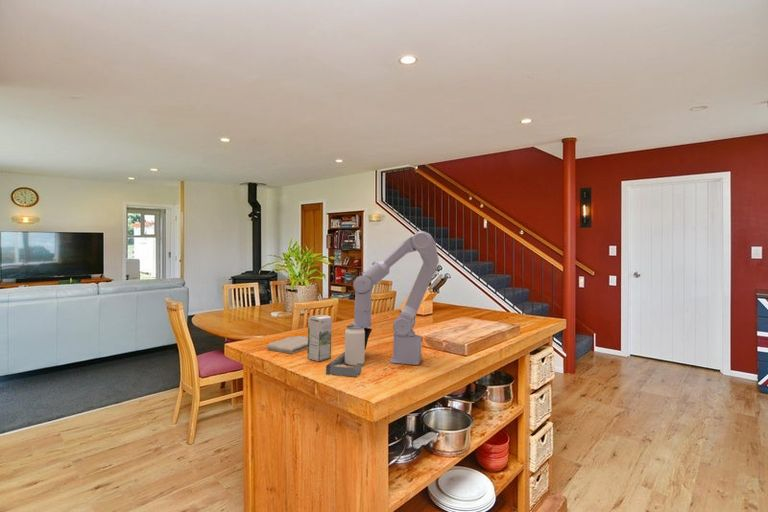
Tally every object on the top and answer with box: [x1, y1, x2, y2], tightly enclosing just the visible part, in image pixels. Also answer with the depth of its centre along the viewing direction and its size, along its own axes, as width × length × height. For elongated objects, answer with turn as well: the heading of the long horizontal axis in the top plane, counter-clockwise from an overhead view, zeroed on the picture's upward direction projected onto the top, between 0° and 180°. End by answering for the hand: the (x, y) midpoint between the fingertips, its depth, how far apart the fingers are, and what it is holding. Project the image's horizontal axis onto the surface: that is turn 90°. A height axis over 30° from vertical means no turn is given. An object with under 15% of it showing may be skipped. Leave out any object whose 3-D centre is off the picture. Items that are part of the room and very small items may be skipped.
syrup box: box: [306, 314, 333, 362], centre depth 133 cm, size 6×6×14 cm
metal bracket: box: [325, 351, 363, 378], centre depth 125 cm, size 9×20×3 cm, turn 166°
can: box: [344, 324, 366, 367], centre depth 128 cm, size 6×6×12 cm
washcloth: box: [266, 335, 308, 355], centre depth 148 cm, size 12×18×3 cm, turn 153°
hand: (362, 350), depth 135 cm, fingers closed
